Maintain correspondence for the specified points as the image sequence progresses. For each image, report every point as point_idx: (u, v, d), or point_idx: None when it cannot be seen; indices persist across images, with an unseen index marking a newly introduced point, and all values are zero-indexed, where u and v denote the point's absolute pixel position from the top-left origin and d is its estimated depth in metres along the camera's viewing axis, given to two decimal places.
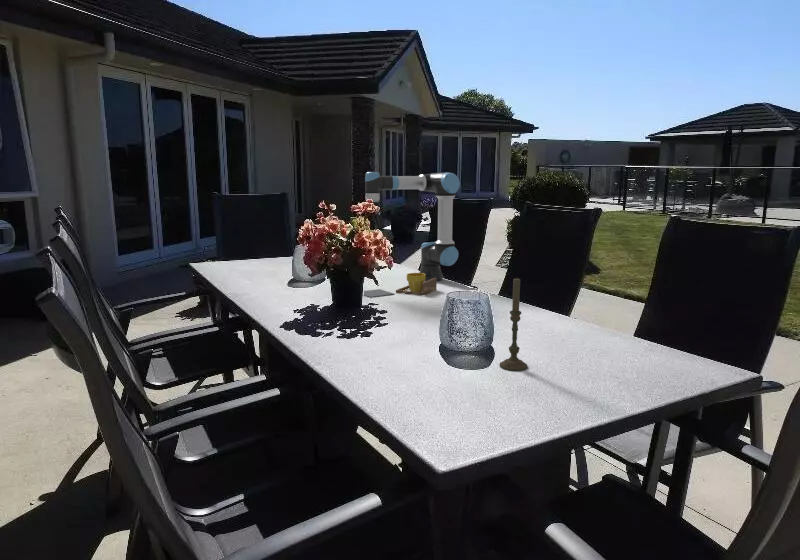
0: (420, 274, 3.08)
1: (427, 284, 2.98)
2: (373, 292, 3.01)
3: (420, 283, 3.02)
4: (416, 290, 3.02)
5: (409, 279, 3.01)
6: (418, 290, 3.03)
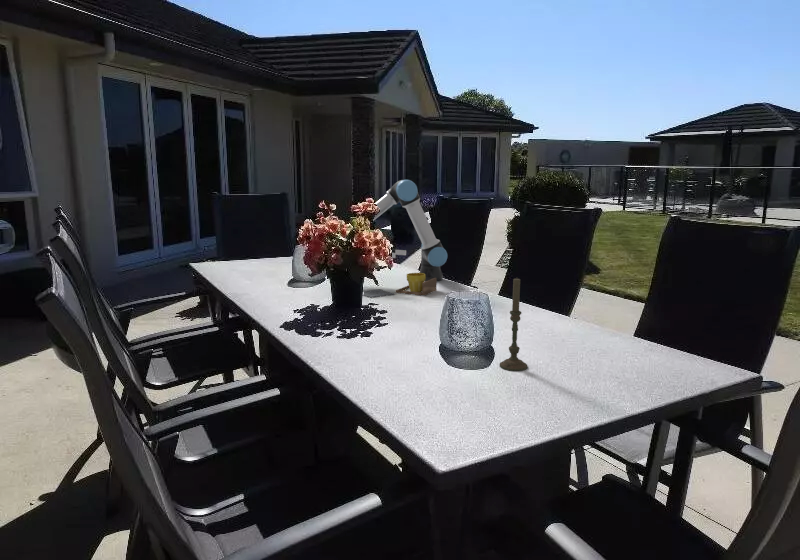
0: (420, 274, 3.08)
1: (427, 284, 2.98)
2: (373, 292, 3.01)
3: (420, 283, 3.02)
4: (416, 290, 3.02)
5: (409, 279, 3.01)
6: (418, 290, 3.03)
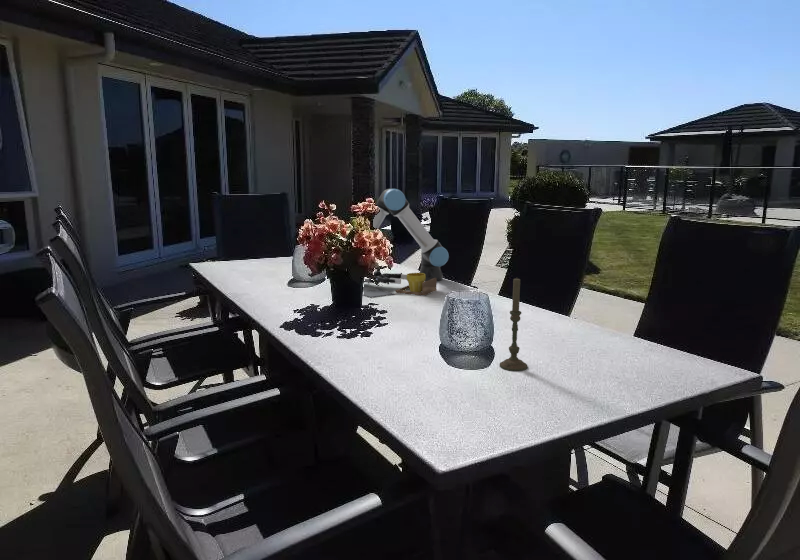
0: (420, 274, 3.08)
1: (427, 284, 2.98)
2: (373, 292, 3.01)
3: (420, 283, 3.02)
4: (416, 290, 3.02)
5: (409, 279, 3.01)
6: (418, 290, 3.03)
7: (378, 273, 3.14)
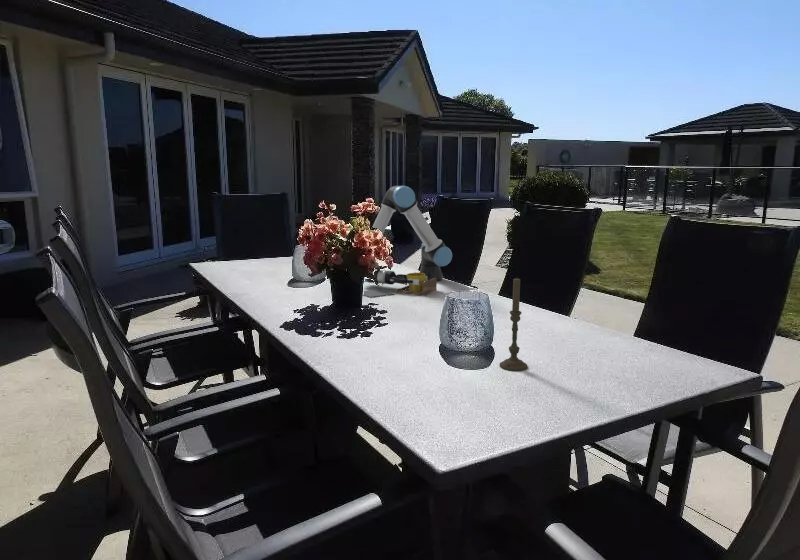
0: (420, 274, 3.08)
1: (427, 284, 2.98)
2: (373, 292, 3.01)
3: (420, 283, 3.02)
4: (416, 290, 3.02)
5: None
6: (418, 290, 3.03)
7: (393, 274, 3.10)
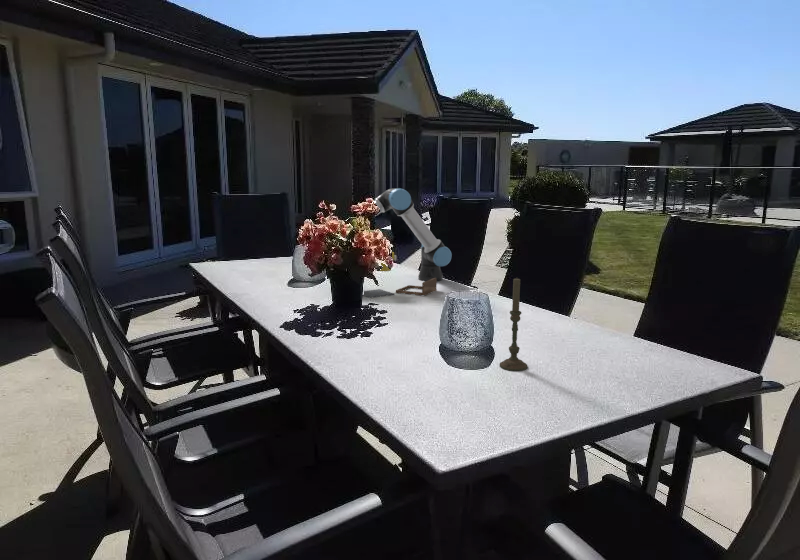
0: None
1: (427, 284, 2.98)
2: (373, 292, 3.01)
3: None
4: (384, 269, 2.95)
5: None
6: (386, 269, 2.95)
7: None
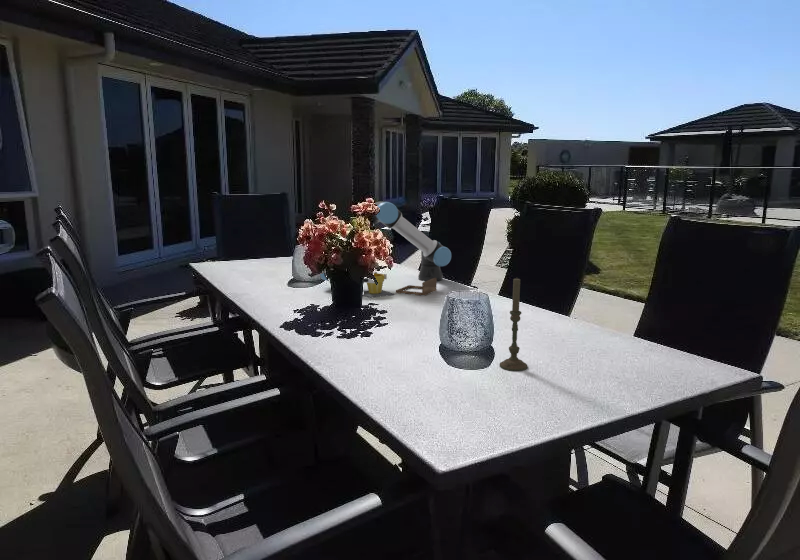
0: (379, 275, 3.02)
1: (427, 284, 2.98)
2: None
3: (378, 284, 2.95)
4: (374, 291, 2.96)
5: None
6: (376, 291, 2.96)
7: None
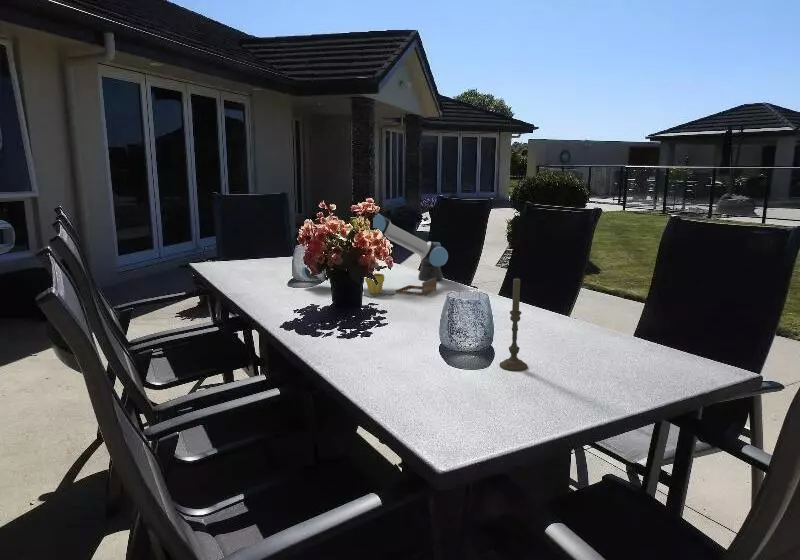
0: (379, 275, 3.02)
1: (427, 284, 2.98)
2: None
3: (378, 284, 2.95)
4: (374, 291, 2.96)
5: (367, 280, 2.95)
6: (376, 291, 2.96)
7: None
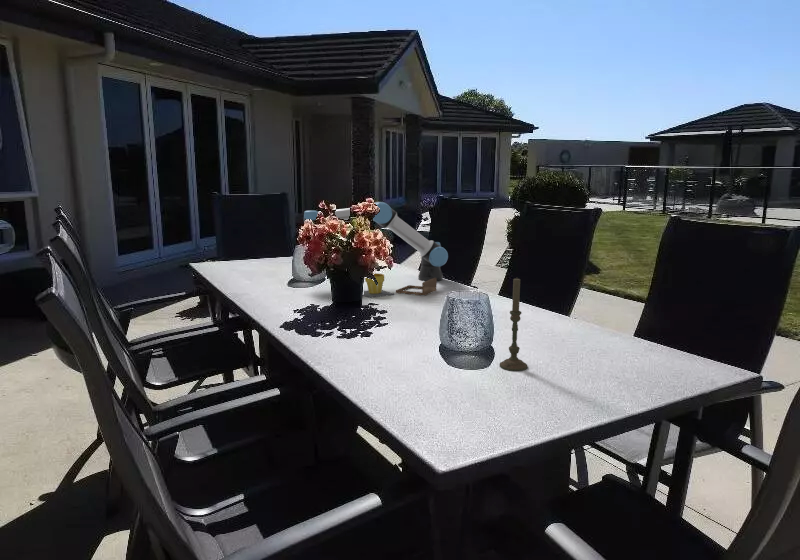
0: (379, 275, 3.02)
1: (427, 284, 2.98)
2: None
3: (378, 284, 2.95)
4: (374, 291, 2.96)
5: (367, 280, 2.95)
6: (376, 291, 2.96)
7: None
